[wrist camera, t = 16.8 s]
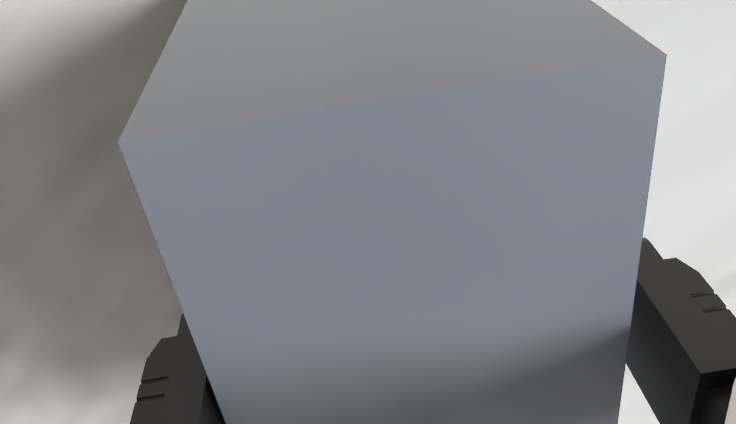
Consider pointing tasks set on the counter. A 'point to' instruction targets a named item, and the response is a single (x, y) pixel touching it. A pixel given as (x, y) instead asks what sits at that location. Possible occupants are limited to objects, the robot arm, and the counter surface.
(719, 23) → the counter surface
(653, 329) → the robot arm
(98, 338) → the counter surface
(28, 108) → the counter surface
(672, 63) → the counter surface
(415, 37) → the matte grey box
